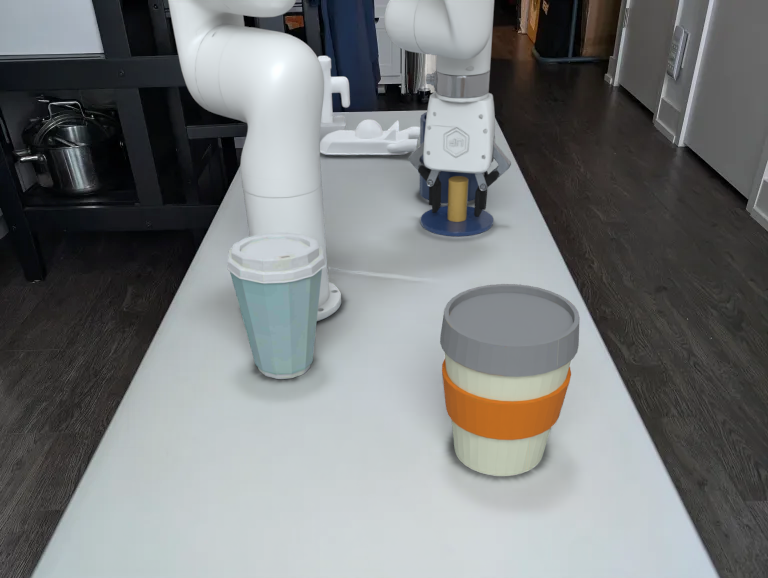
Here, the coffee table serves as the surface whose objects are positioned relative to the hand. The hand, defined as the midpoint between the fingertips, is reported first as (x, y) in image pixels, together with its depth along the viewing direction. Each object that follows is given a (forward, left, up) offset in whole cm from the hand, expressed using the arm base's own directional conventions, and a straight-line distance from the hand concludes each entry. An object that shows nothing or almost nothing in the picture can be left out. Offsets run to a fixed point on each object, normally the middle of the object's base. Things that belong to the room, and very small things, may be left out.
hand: (457, 210), depth 124 cm
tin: (+13, +4, -2) cm, 14 cm away
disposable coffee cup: (-47, +10, -3) cm, 48 cm away
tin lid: (0, 0, -2) cm, 2 cm away
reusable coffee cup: (-57, -17, -3) cm, 60 cm away
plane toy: (+33, +25, -3) cm, 41 cm away
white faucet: (+38, +35, -3) cm, 52 cm away
